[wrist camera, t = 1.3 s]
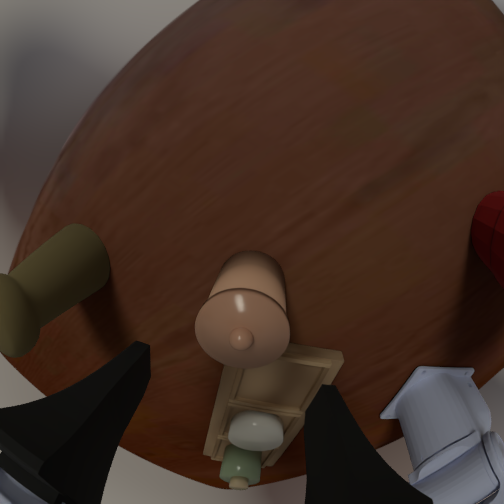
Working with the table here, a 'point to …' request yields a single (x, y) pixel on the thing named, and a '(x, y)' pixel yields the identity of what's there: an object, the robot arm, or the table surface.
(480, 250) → the plastic cup
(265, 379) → the tray
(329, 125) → the table surface
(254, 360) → the spice jar
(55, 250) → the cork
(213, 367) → the table surface
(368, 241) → the table surface
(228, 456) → the green jar
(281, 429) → the white rounded disc
